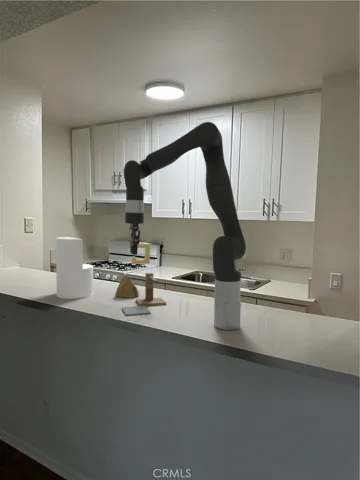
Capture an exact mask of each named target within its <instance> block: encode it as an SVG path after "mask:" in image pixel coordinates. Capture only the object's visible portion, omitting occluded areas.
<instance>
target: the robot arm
mask: <svg viewBox="0 0 360 480" xmlns="http://www.w3.org/2000/svg"><path fill="white" fill-rule="evenodd" d="M198 148H200V150H201V152H202V156H203V159H204V164H205V189H206V195H207V199H208V203H209V206H210V208H211V209H212V211H213V212H214V213H215V216H216V217H217V219H218V220H219V222H220V224H221V227H222V232H223V235H220V236H218V237H217V238H215V240H214V242H213V245H212V269H213V273H214V299H213V300H214V305H213V306H214V307H213V308H214V309H213V326H214V327H215V328H217V329H219V330H223V331H233V330H240V329H241V314H242V313H241V311H242V309H241V307H242V303H241V283H242V282H241V279H242V274H241V271H239V270H237V269H236V266H235V261H238V260H241V259H242V258H244V257H245V254H246V250H247V247H246V246H247V245H246V242H245V241H246V240H245V238H244V237H245V236H244V234H243V231H242V228H241V225H240V221H239V217H238V213H237V209H236V208H237V207H236V204H235V198H234V192H233V188H232V182H231V179H230V175H229V172H228V168H227V165H226V163H225V157H224V156H225V155H224V144H223V136H222V134H221V132H220V129H219V128H218V126H217V125H216V124H215V123H214V122H211V121H205V122H202V123H200V124H198V125H197V126H196V127H194V128H192V129H191V130H190V131H188V132H187V133H185V134H184V135H182V136H180V137H178V138H177V139H176V140H175V141H173V142H171V143H169V144H167V145H165V146H164V147H161V148H159V149H157V150H154V151H152V152H150V153H148V154H147V155H146V157H145V158H144V159H143V160H141V161H136V160H134V159H133V160H128V161H127V162H126V163H125V165H124V167H123V178H124V185H125V188H126V193H125V195H126V196H125V205H124V207H125V208H124V209H125V210H124V222H125V223H126V224H129V226H130V227H128V229H127V230H128V242H129V244H130V245H129V247H130V248H129V249H130V250H129V253H130V254H131V255H132V256H134V255H138V249H139V248H138V246H137V245H138V244H140V237H141V228H140V227H139V225H141V224H144V222H145V220H144V219H145V204H144V203H145V202H144V200H145V199H144V197H145V195H144V193H145V190H144V187H143V185H142V183H141V182H142V181H141V180H143V179H145V178H147V177H149V176H151V175H152V174H154V173H155V172H156V171H158V170H161V169H164V168H165V167H168V166H170V165H171V164H174V163H175V162H176V161H177V160H178V159H179V158H181V157H182V156H183V155H184V154H186V153H188V152H190V151H192V150H195V149H198Z"/></svg>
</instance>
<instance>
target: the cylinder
mask: <svg viewBox="0 0 360 480" xmlns="http://www.w3.org/2000/svg"><path fill="white" fill-rule="evenodd" d="M83 253H84V252H83V238H77V237H71V236H58V237H55V264H56V265H55V266H56V267H55V268H56V269H55V270H56V273H55V275H56V277H55V278H56V297H57V298H60V299H64V300H65V299H66V300H74V299H75V300H76V299H84V298H88V297H91V296H93V295H94V266H93V265H92V264H89V263H88V264H86V263H84V261H83V259H84V258H83Z"/></svg>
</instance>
